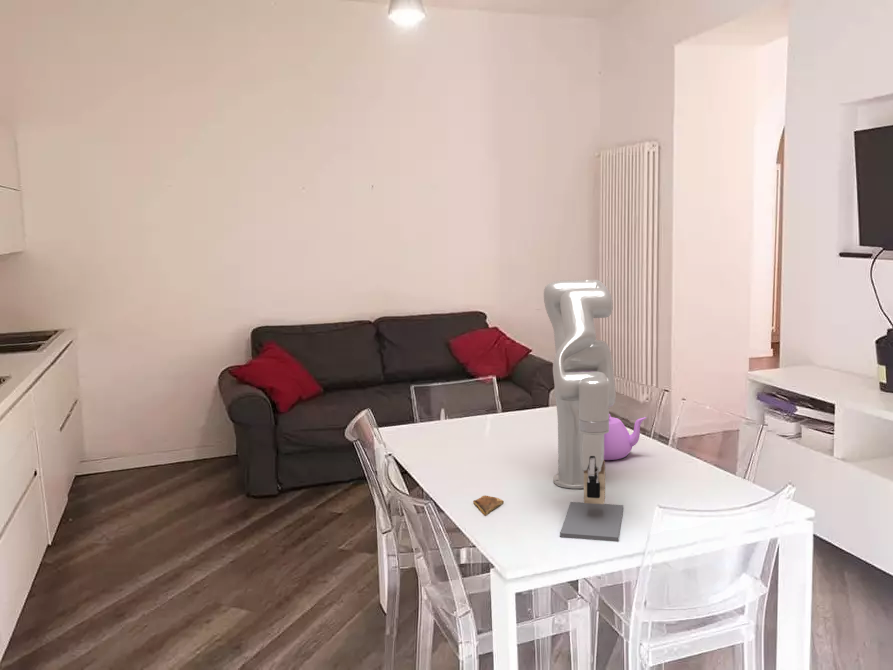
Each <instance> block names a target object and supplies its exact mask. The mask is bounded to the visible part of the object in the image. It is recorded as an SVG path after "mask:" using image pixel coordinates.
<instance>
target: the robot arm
mask: <svg viewBox="0 0 893 670" xmlns="http://www.w3.org/2000/svg"><path fill="white" fill-rule="evenodd" d="M543 302H544V309H545V310H546V314H547V316H548V319H549V321H550V323H551V327H552V329H553V336H554V337H553V338H554V349H555V354H554V358H553V360H552V361H553V362H552V363H553V364H552V375H553V383H554V391H553V392H554V393H553V394H554V399H555V405H556V413H557V453H558V454H557V455H558V460H557V461H558V462H557V464H558V469H557V470H558V473H557V474H555V475H554V476H553V480H552V483H554V484H555V486H558V487H561V488H565V489H572V490H573V489H576V490H577V489H579V490H580V489H584V471H586V470H587V468H588V482H587V497H588V498H600V483H599V472H600V471H601V469H602V465H603V461H605V460H604V434H606V433H608V432H609V414H610V408H611V407H613V406H614V404H615V403H616V398H617V397H616V396H617V394H616V392H617V391H616V383H615V374H614V365H613V357H612V352H611V347H610V346H609V345H608V343H607V342H606V341H604V340H601V339H597V332H596V327H595V321H594V319H603V318H604V319H606V318H609V317H610V316H611V314H612V313H613V311H614V310H613V308H614V307H613V306H614V302H613V297H612V294H611V292H610V290H609V288H608V287H607V286H606V285H605V284H604V283H603V282H602V281H601V280H599V279H571V280H570V279H568V280H564V279H563V280H556V281H552V282H549V283H547V284H546V286H545V287H544V289H543ZM595 469H597V471H595ZM595 473H596V475H595Z"/></svg>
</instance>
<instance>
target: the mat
mask: <svg viewBox="0 0 893 670" xmlns="http://www.w3.org/2000/svg"><path fill="white" fill-rule="evenodd" d="M623 512H624V505H623V504H612V503H604V504H592V503H584V501H583V502H580V501H569V506H568V508H567V511H566V514H565V518H564V520H563V522H562V523H563V524H562V527H561V529H560V533H559V537H560V538H569V539H570V538H571V539H582V540H584V539H585V540H594V541H595V540H596V541H609V542H619V539H620V531H621V525H622V519H623Z"/></svg>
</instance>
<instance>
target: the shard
mask: <svg viewBox="0 0 893 670" xmlns="http://www.w3.org/2000/svg"><path fill="white" fill-rule="evenodd" d="M472 502H473V504H474V505H475V507H478V509H479V511H480V512H481V513H482V514H483V515H484V516H488V515H489V514H490V513H491V512H492V511H494V510H495V509H497V508H498V507H500V506H501V505H503V504H504V502H505V501H504V500H503V499H501V498H499V497H495V496H489V495H482V496H481V497H479V498H477V499H475V500H473V501H472Z"/></svg>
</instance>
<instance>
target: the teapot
mask: <svg viewBox="0 0 893 670" xmlns="http://www.w3.org/2000/svg"><path fill="white" fill-rule="evenodd" d="M646 419H647V417H646V416H645V417H640V418H638V419H636V420H635V422H634V425H633V426H634V427H633V431H632V433H631V434H630V433H629V431H628V429H627V427H626V426H625V424H624V422H622V420H621V419H620V418H617V417H614V416H613V417H612V416H611V413H609V432H608V433H606V434H604V460H603V461H617V460H621V459H623V458H626V457H627V455H630V454H629V453H630V452H631V451H632V449H633V447H635V446H636V444H638V442H639V440H640V435H641V426H642V425H641V424H642V422H643V421H644V420H646Z"/></svg>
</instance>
